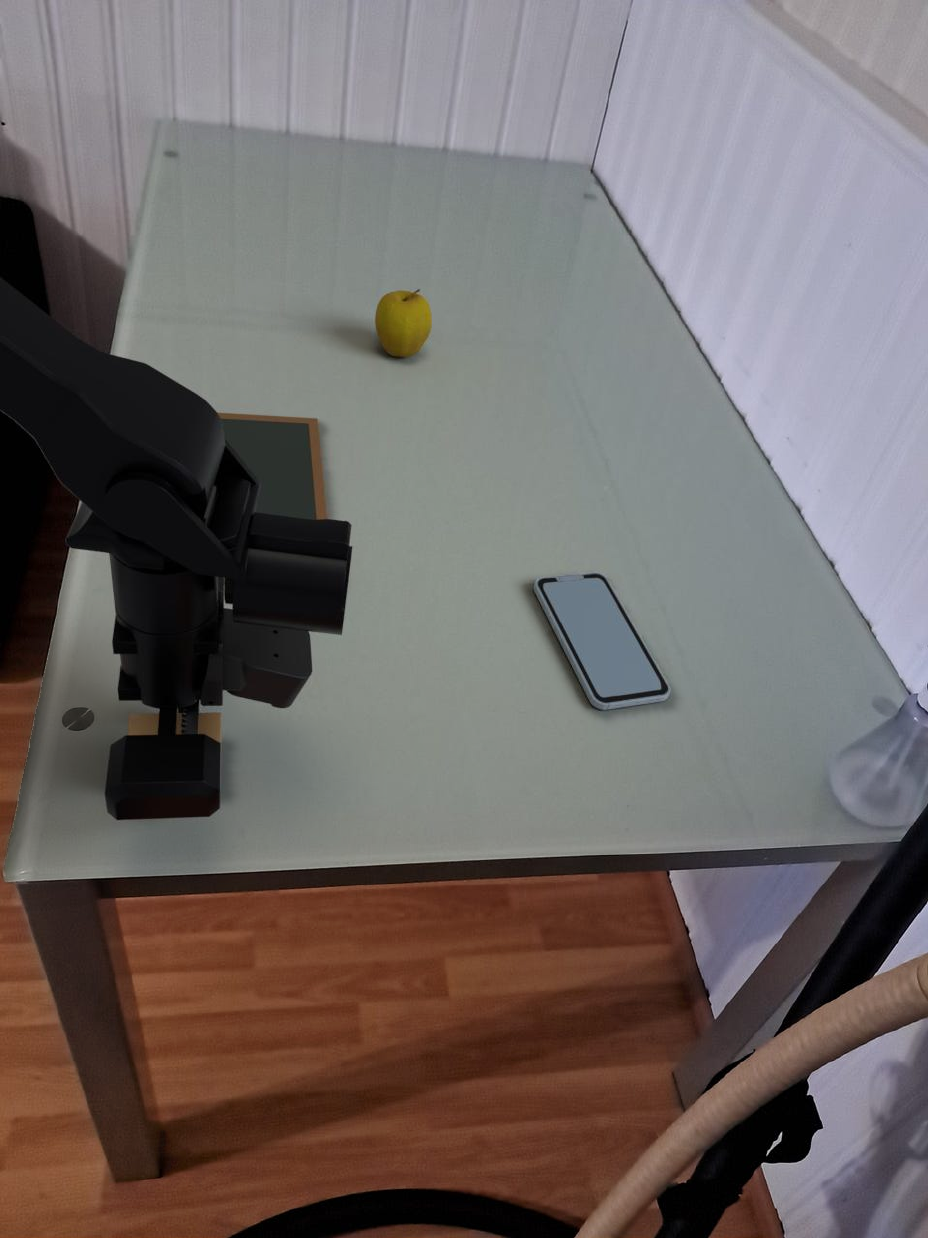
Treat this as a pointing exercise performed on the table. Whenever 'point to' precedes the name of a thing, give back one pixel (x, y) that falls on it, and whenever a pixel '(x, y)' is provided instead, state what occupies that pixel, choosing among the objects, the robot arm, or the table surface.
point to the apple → (403, 322)
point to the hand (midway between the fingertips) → (175, 762)
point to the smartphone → (601, 641)
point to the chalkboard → (280, 462)
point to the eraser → (149, 725)
